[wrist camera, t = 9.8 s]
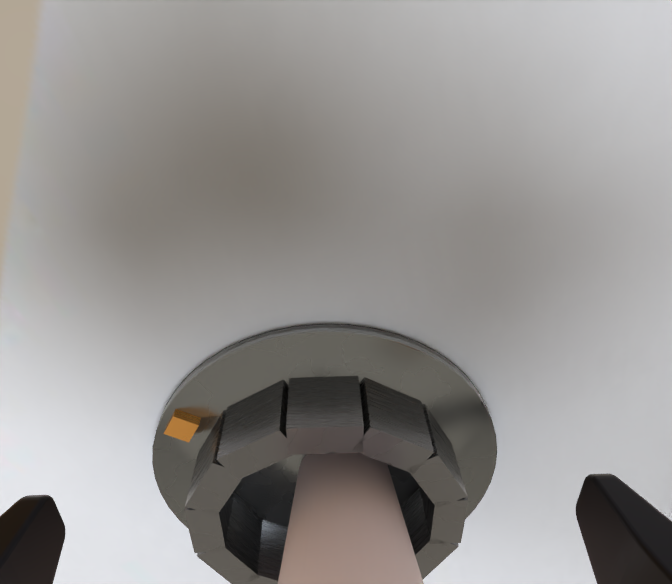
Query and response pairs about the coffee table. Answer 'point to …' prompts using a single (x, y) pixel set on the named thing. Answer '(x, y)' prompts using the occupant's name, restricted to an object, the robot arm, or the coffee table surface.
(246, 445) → the mount
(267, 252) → the coffee table surface
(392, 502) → the smoothie
